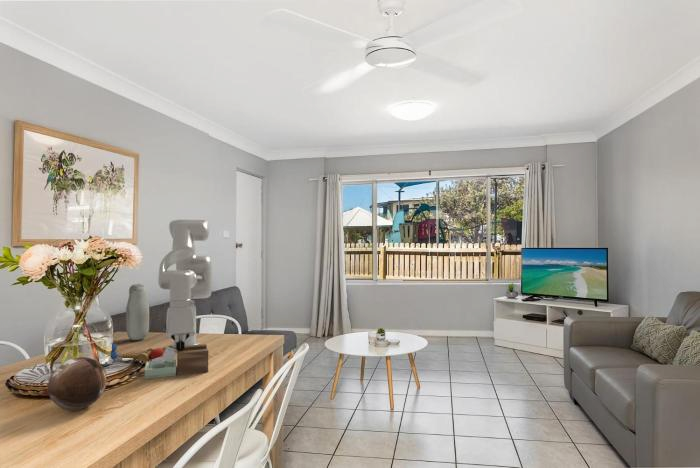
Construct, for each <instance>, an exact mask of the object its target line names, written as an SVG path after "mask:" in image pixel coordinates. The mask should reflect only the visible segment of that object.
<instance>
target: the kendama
mask: <svg viewBox="0 0 700 468" xmlns="http://www.w3.org/2000/svg"><path fill="white" fill-rule="evenodd" d="M164 351H165V350H163V349H162V348H159V347H158V348H153V347H151V348H148V349H147V350H146V352H141V353H139V354H138V353H135V354H132V353H131V354H122V356H121V359H122V358H133V359H137V360H136V361H137V362H138V361H143V362H144V363H145V365H146V363H147V362H150V361H152V359H155V358H159V357H162V355H163V353H164Z"/></svg>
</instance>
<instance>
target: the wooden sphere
mask: <svg viewBox="0 0 700 468" xmlns="http://www.w3.org/2000/svg"><path fill="white" fill-rule="evenodd" d="M107 382H108V381H107V373H106V370H105V368H104V366H103V365H101V364H100V363H99V361H98V360H94V359H93V358H90V357H84V356H81V357H79V356H78V357H74V358H70V359H68V360H65V361H64V362H63V363H61V364H59V365H58V367H56V368H55V370H53V371H52V373H51V375H50V377H49V380H48V383H47V392H48V396H49V398H50V399H51V401H52V402H53V404H55V405H56V406H57V407H59V408H60V409H64V410H67V411H76V410H81V409H84V408H87V407H88V406H91V405H92V404H93V403H95V402H96V401H97V400H98V399H100V397H101V396H102V395H103V392H104V390H105V389H106V385H107Z"/></svg>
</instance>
